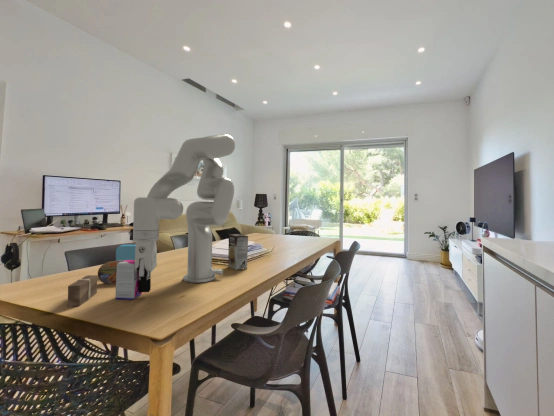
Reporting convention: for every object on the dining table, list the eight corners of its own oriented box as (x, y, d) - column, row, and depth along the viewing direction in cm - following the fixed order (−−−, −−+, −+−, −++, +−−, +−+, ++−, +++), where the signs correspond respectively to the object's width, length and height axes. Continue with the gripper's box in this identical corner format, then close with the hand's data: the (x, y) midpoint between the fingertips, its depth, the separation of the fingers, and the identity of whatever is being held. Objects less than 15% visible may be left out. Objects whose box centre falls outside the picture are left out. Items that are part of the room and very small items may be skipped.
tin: (97, 285, 99) (97, 262, 99) (98, 283, 102) (98, 260, 102) (143, 281, 106) (143, 259, 106) (142, 279, 109) (143, 258, 109)
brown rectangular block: (97, 293, 91) (97, 274, 91) (80, 306, 79) (80, 284, 79) (86, 293, 90) (86, 274, 90) (67, 306, 78) (67, 285, 78)
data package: (148, 270, 122) (148, 244, 122) (146, 273, 118) (146, 245, 118) (118, 271, 119) (119, 244, 119) (115, 274, 115) (116, 246, 115)
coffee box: (227, 266, 134) (228, 234, 134) (239, 265, 138) (240, 233, 138) (235, 270, 127) (236, 236, 127) (247, 269, 130) (248, 235, 130)
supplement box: (133, 300, 85) (134, 263, 85) (114, 299, 85) (115, 263, 85) (142, 294, 91) (143, 260, 90) (125, 293, 91) (126, 259, 91)
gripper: (153, 238, 82) (152, 298, 82) (162, 233, 96) (160, 284, 96) (126, 238, 80) (124, 300, 80) (139, 233, 95) (137, 285, 95)
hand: (144, 291), depth 88 cm, fingers closed
